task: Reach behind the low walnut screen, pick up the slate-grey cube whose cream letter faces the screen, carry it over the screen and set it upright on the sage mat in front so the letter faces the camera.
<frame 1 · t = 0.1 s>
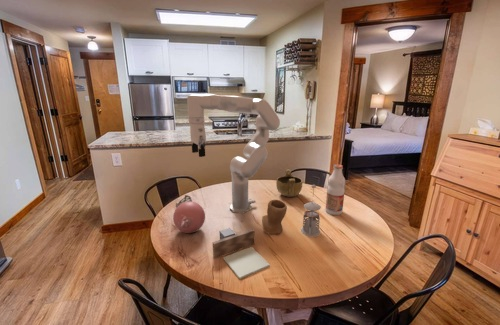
hand: (198, 154, 131), 37 cm above the table, tool pointing down, fingers open, 9 cm apart
walnut screen: (234, 249, 115), on the table
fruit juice: (333, 211, 149), on the table
stone cup: (273, 228, 133), on the table
display mat: (246, 262, 106), on the table
balloon: (188, 233, 128), on the table
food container: (187, 216, 145), on the table
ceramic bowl: (288, 195, 172), on the table
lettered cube: (227, 242, 120), on the table
french press: (310, 232, 128), on the table
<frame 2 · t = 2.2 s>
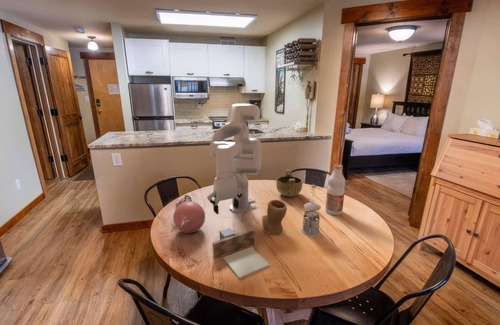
hand: (226, 210, 115), 17 cm above the table, tool pointing down, fingers open, 9 cm apart
nothing on the table moved.
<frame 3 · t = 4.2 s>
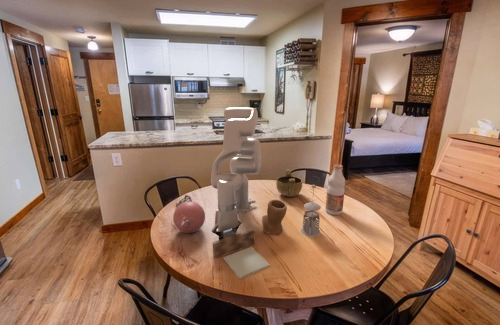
hand: (227, 240, 120), 1 cm above the table, tool pointing down, fingers closed on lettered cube, 5 cm apart
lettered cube: (227, 242, 120), on the table, touching gripper
everything else where it was.
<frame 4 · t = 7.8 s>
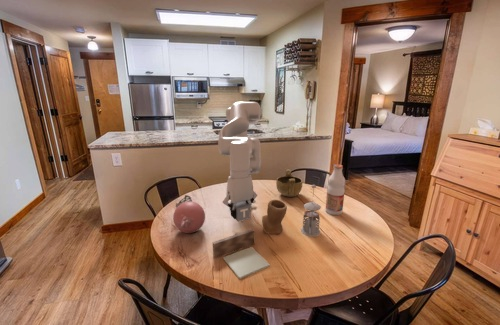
hand: (240, 215, 104), 20 cm above the table, tool pointing down, fingers closed on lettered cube, 5 cm apart
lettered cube: (240, 217, 104), point 19 cm above the table, touching gripper
everything else where it was.
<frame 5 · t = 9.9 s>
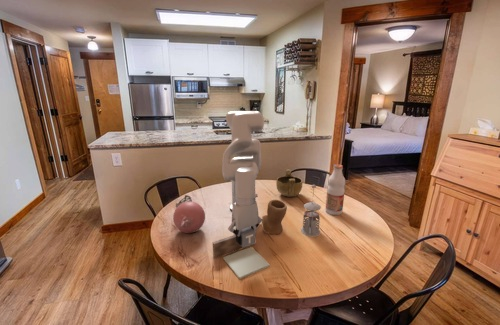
hand: (245, 240, 103), 11 cm above the table, tool pointing down, fingers closed on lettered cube, 5 cm apart
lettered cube: (245, 242, 103), point 10 cm above the table, touching gripper
everything else where it was.
when the fingers open (3 cm above the table, at t = 11.8 s): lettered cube drops 1 cm, resting on display mat.
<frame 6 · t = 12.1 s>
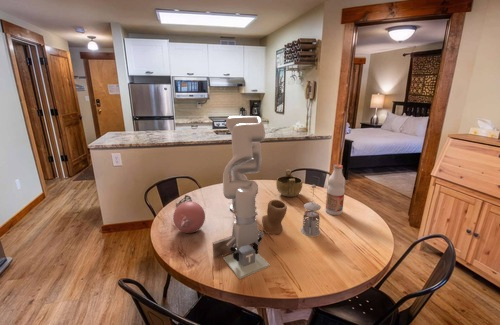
hand: (246, 255, 106), 3 cm above the table, tool pointing down, fingers open, 8 cm apart
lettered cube: (246, 260, 106), point 1 cm above the table, touching display mat
everything else where it was.
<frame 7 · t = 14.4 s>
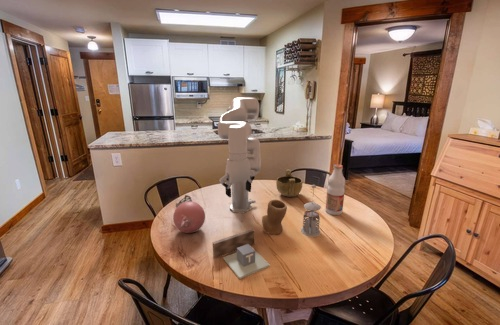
hand: (238, 193, 111), 26 cm above the table, tool pointing down, fingers open, 9 cm apart
nothing on the table moved.
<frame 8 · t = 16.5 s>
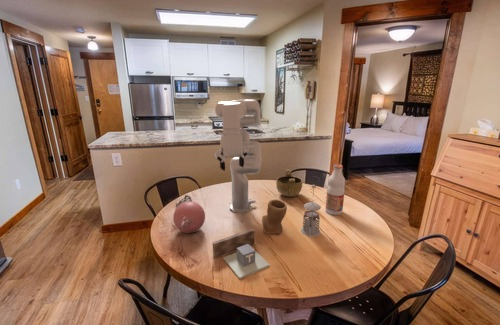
hand: (232, 168, 120), 33 cm above the table, tool pointing down, fingers open, 9 cm apart
nothing on the table moved.
at the end: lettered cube inside the target area (0.1 cm from its centre), point 0.8 cm above the table; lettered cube tilted 0°; the gripper is holding nothing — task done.
